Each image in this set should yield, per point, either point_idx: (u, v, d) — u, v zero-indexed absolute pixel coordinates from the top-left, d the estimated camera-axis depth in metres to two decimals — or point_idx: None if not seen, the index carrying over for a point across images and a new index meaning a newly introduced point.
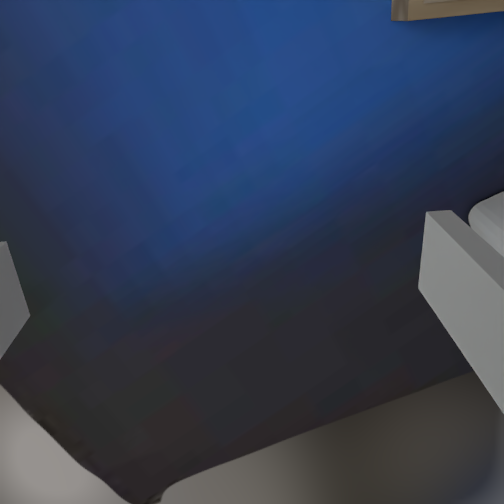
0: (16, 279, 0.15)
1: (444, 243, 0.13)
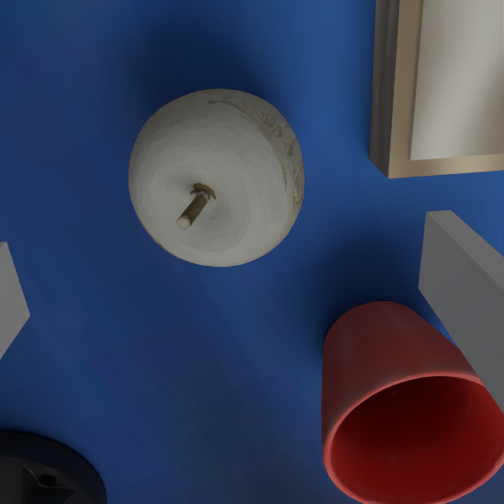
0: (16, 279, 0.15)
1: (444, 243, 0.13)
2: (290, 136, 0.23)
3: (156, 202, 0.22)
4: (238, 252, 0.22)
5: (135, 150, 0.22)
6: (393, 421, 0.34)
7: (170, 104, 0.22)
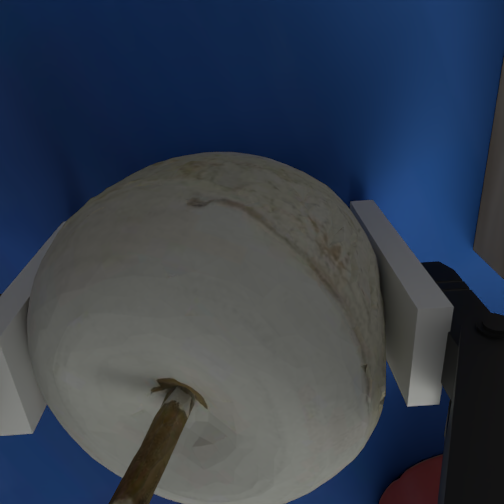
0: None
1: None
2: (367, 258, 0.11)
3: (78, 407, 0.10)
4: None
5: (33, 295, 0.10)
6: None
7: (107, 198, 0.10)
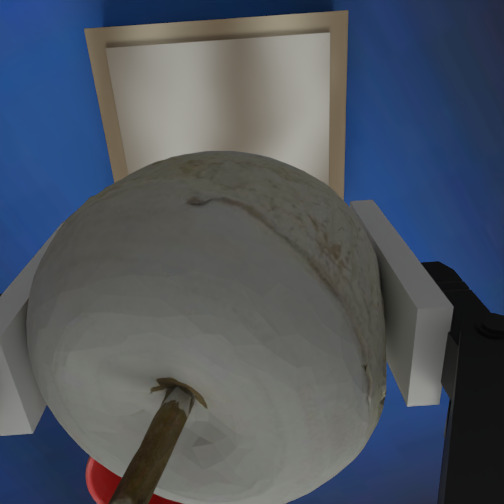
0: None
1: None
2: (368, 257, 0.11)
3: (78, 407, 0.10)
4: None
5: (32, 294, 0.10)
6: None
7: (106, 197, 0.10)
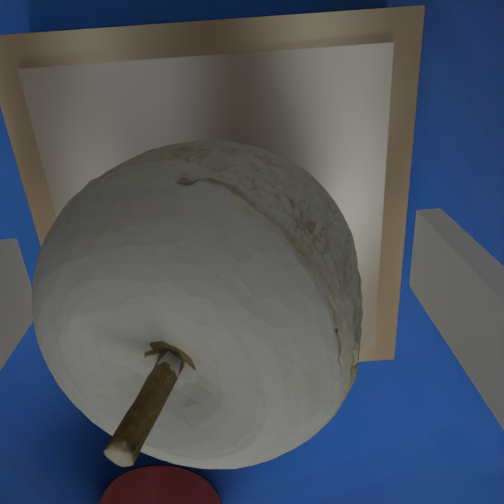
0: (26, 275, 0.15)
1: (433, 241, 0.14)
2: (343, 236, 0.12)
3: (78, 370, 0.11)
4: (240, 461, 0.12)
5: (38, 268, 0.11)
6: None
7: (105, 179, 0.11)
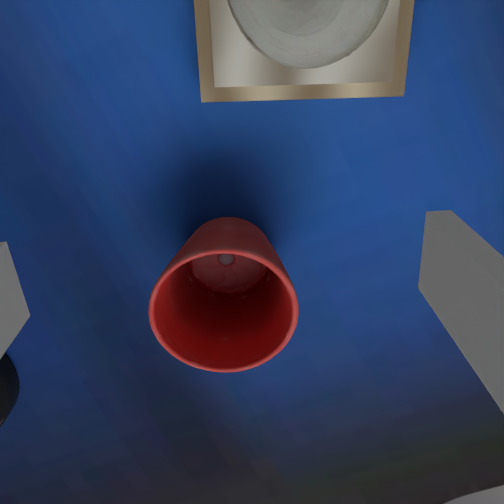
0: (16, 279, 0.15)
1: (444, 243, 0.13)
2: None
3: None
4: (328, 36, 0.23)
5: None
6: (236, 315, 0.41)
7: None
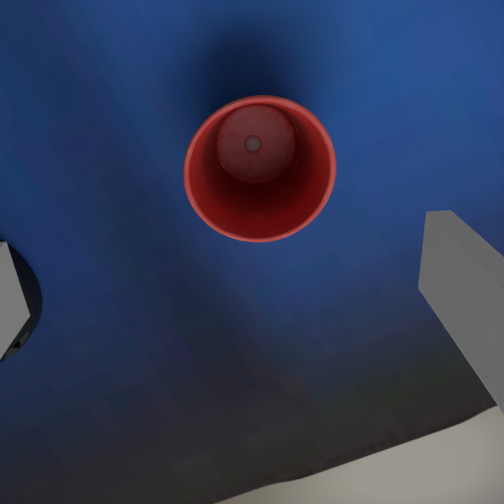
0: (16, 279, 0.15)
1: (444, 243, 0.13)
2: None
3: None
4: None
5: None
6: (266, 199, 0.41)
7: None
